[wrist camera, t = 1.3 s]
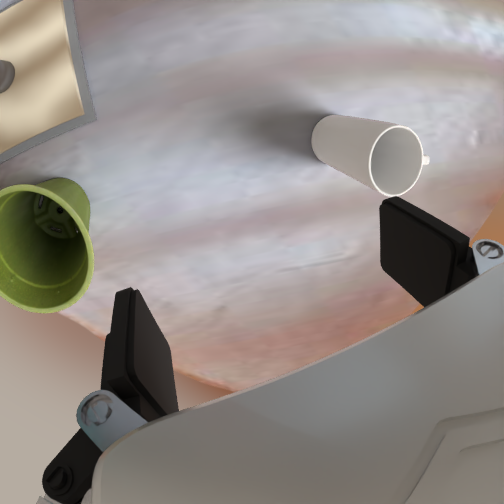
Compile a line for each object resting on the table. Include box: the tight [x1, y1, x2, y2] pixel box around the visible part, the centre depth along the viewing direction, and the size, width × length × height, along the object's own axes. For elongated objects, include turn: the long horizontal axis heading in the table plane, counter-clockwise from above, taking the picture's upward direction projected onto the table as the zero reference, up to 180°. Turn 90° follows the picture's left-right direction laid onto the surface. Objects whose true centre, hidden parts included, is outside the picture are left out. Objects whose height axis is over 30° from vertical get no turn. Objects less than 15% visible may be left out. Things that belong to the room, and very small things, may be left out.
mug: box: [311, 115, 429, 197], centre depth 31 cm, size 10×7×12 cm, turn 89°
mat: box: [0, 0, 97, 164], centre depth 21 cm, size 18×18×1 cm
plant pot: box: [0, 178, 94, 313], centre depth 25 cm, size 12×12×11 cm
